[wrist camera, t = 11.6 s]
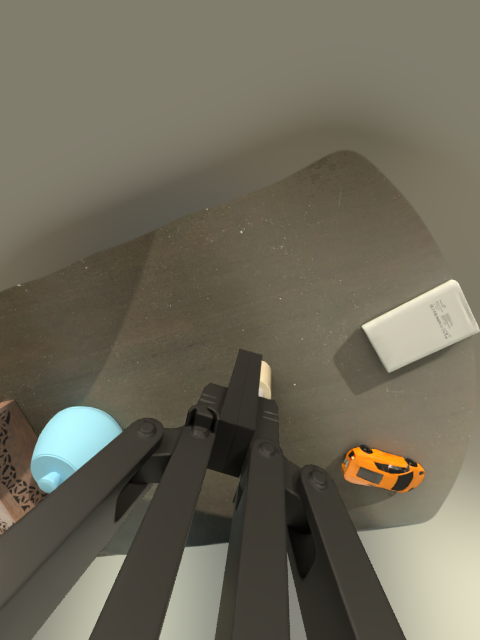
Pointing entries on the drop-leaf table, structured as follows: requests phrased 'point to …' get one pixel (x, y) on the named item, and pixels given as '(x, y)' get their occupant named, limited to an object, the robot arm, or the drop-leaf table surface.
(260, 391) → the salt shaker
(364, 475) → the toy car
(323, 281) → the drop-leaf table surface
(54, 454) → the sugar bowl
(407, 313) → the hard drive
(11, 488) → the tissue box cover
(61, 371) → the drop-leaf table surface
